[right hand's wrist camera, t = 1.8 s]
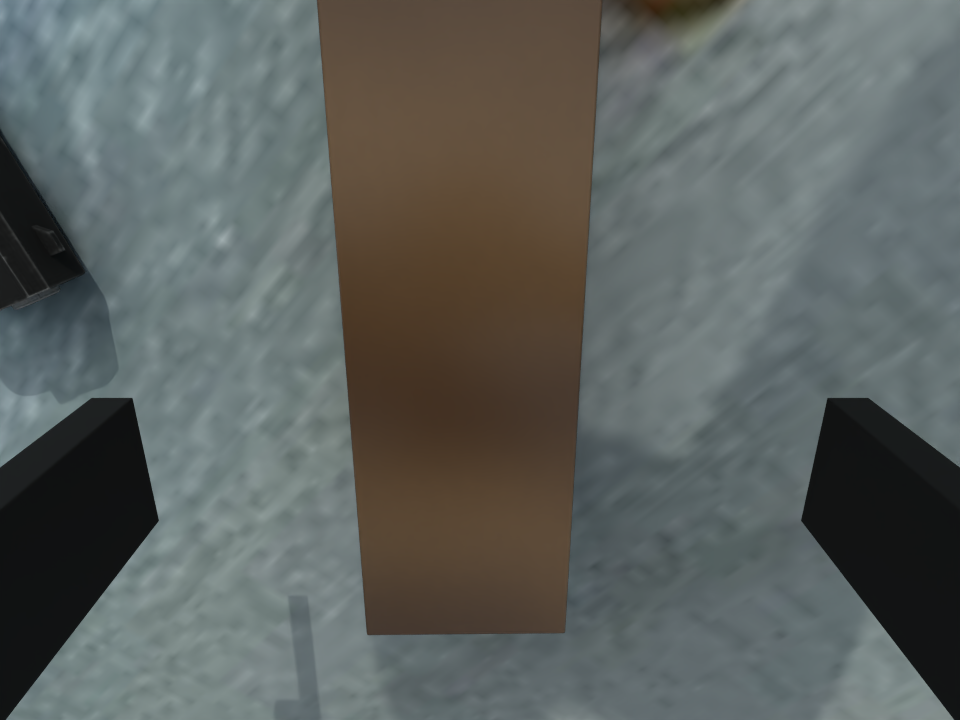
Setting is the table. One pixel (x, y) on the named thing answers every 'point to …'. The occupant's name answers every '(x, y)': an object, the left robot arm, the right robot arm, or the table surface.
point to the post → (462, 297)
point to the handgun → (29, 242)
